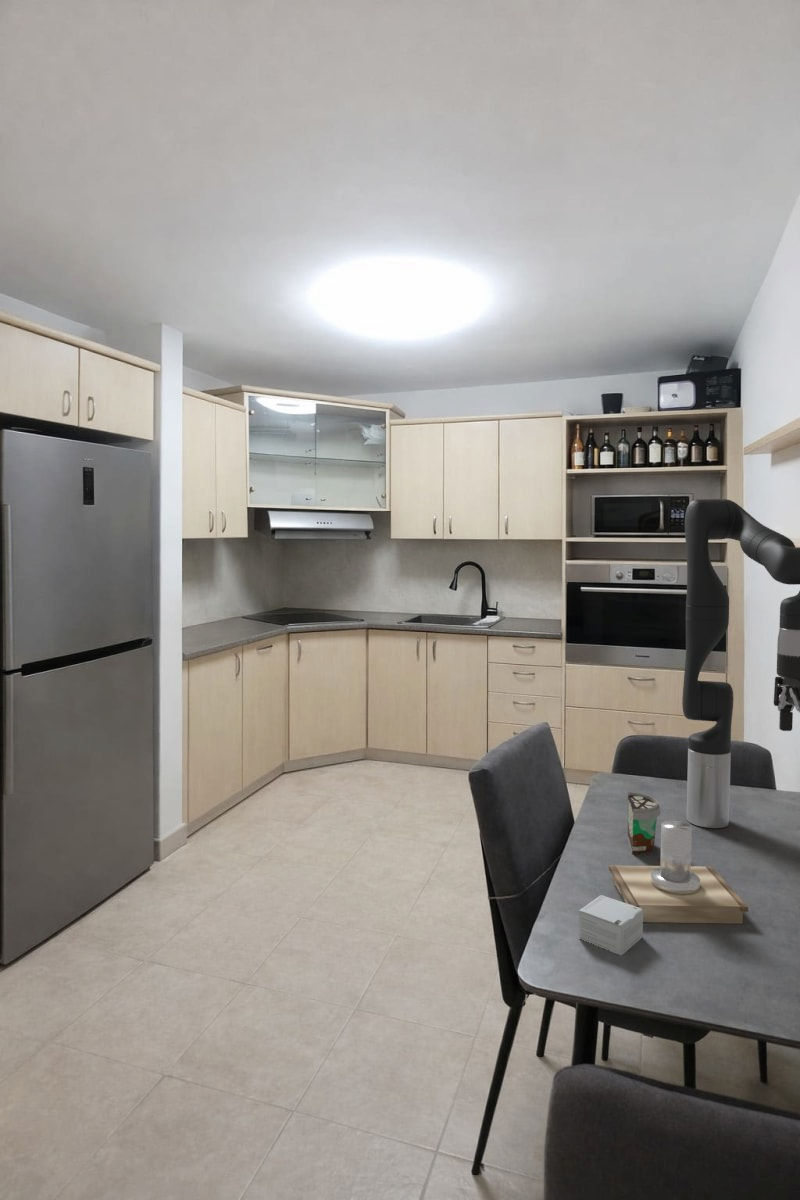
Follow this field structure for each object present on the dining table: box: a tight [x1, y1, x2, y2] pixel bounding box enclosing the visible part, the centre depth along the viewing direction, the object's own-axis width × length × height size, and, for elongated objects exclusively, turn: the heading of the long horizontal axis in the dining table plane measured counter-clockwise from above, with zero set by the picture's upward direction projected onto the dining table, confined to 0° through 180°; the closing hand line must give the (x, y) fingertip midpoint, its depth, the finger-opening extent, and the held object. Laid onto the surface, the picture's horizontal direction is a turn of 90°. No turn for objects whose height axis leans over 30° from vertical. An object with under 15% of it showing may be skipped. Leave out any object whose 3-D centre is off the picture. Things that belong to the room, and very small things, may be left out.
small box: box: [578, 894, 644, 956], centre depth 122 cm, size 8×8×5 cm
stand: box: [608, 864, 749, 925], centre depth 135 cm, size 16×20×3 cm
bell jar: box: [651, 819, 700, 895], centre depth 134 cm, size 8×8×11 cm
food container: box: [626, 791, 661, 855], centre depth 159 cm, size 12×6×10 cm, turn 168°
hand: (796, 736), depth 142 cm, fingers open, 8 cm apart
